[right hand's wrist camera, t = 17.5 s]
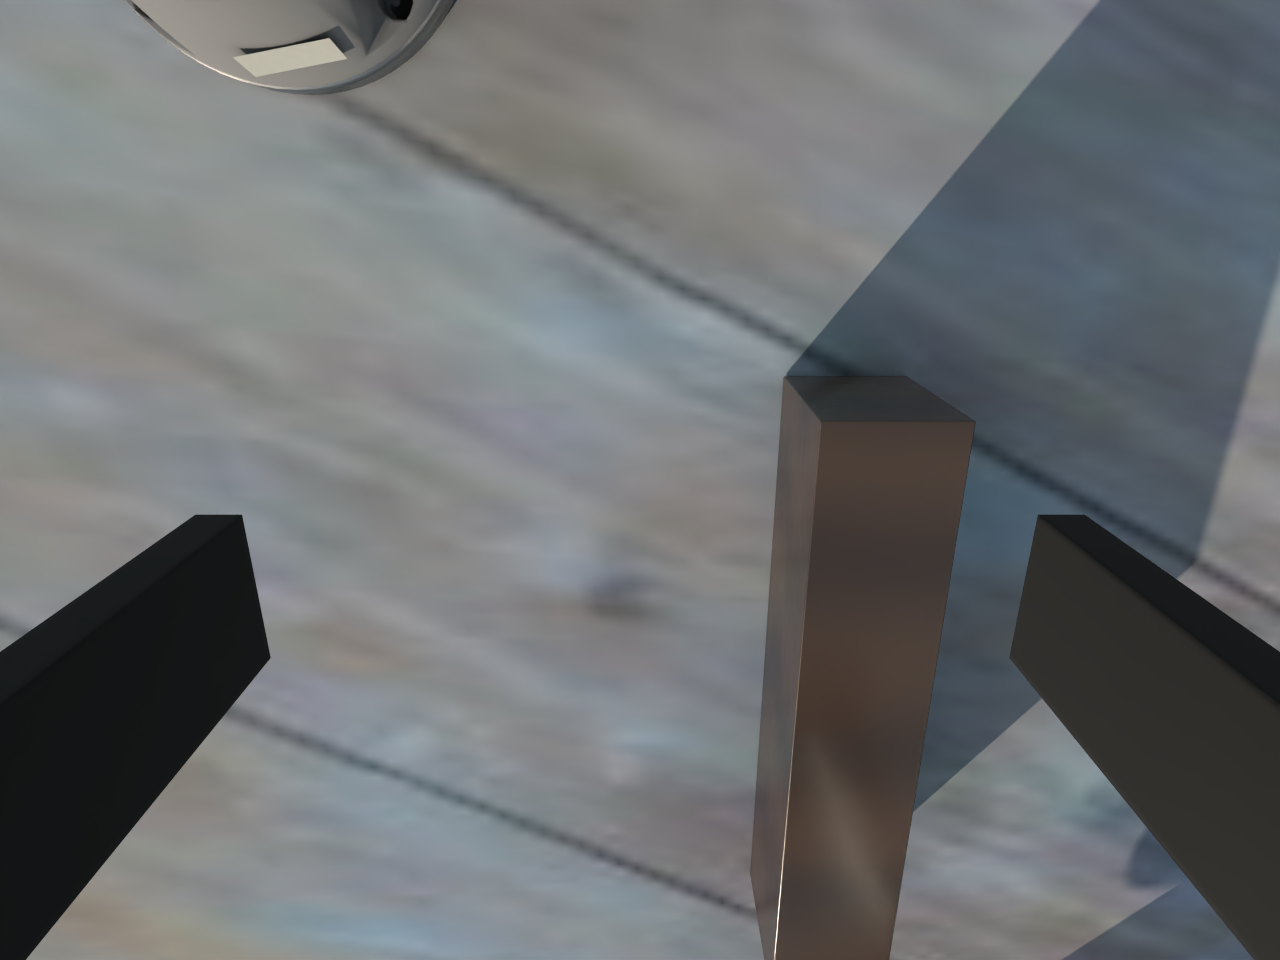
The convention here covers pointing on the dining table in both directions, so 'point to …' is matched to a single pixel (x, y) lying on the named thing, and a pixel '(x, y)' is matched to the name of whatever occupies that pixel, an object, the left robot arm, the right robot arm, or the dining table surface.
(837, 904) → the walnut beam
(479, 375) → the dining table surface
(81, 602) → the right robot arm
